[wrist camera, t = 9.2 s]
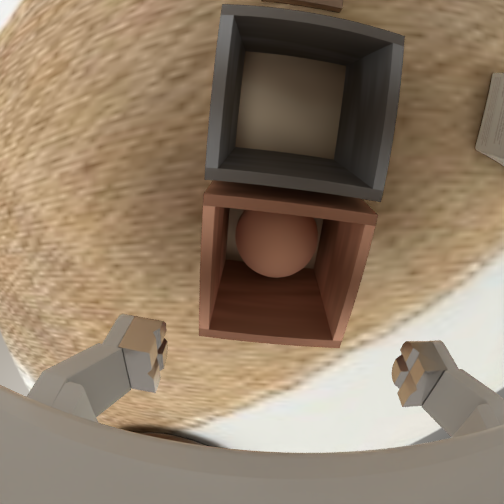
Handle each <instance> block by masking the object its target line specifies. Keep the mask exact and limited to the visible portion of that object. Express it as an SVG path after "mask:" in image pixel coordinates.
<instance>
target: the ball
mask: <svg viewBox="0 0 504 504" xmlns="http://www.w3.org/2000/svg"><path fill="white" fill-rule="evenodd" d="M235 240H236V246H237V249H238V252H239V254H240V256H241V258H242V259H243V261H244V262H245V263H246V265H248V266H249V267H250V268H251V269H252V270H254V271H255V272H257V273H259V274H261V275H264V276H267V277H274V278H279V277H286V276H290V275H292V274H295V273H296V272H298V271H300V270H301V269H302V268H304V267H305V266H306V265H307V264H308V263H309V261H310V260H311V258H312V257H313V255H314V253H315V250H316V247H317V242H318V231H317V226H316V222H315V220H314V218H313V217H305V216H297V215H288V214H280V213H271V212H263V211H253V210H244V211H243V213H242V215H241V216H240V218H239V220H238V223H237V226H236V232H235Z"/></svg>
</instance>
